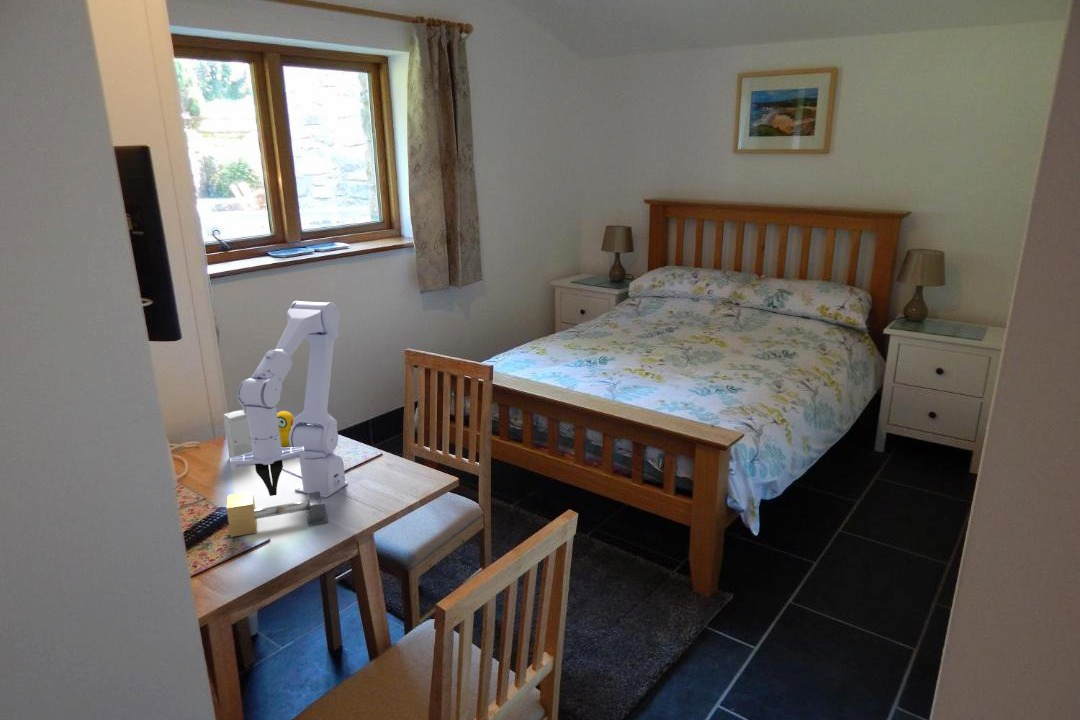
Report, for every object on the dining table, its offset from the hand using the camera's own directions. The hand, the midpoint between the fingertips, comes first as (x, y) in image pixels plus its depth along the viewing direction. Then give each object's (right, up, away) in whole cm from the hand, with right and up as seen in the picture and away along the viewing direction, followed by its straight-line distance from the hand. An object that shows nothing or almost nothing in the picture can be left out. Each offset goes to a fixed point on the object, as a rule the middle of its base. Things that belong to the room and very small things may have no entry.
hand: (273, 493), depth 151 cm
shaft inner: (+5, -4, +3) cm, 7 cm away
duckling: (-13, +5, +41) cm, 43 cm away
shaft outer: (-4, -5, 0) cm, 7 cm away
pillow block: (+8, -6, +5) cm, 11 cm away
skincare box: (-21, +3, +35) cm, 41 cm away
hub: (-6, -8, 0) cm, 10 cm away
